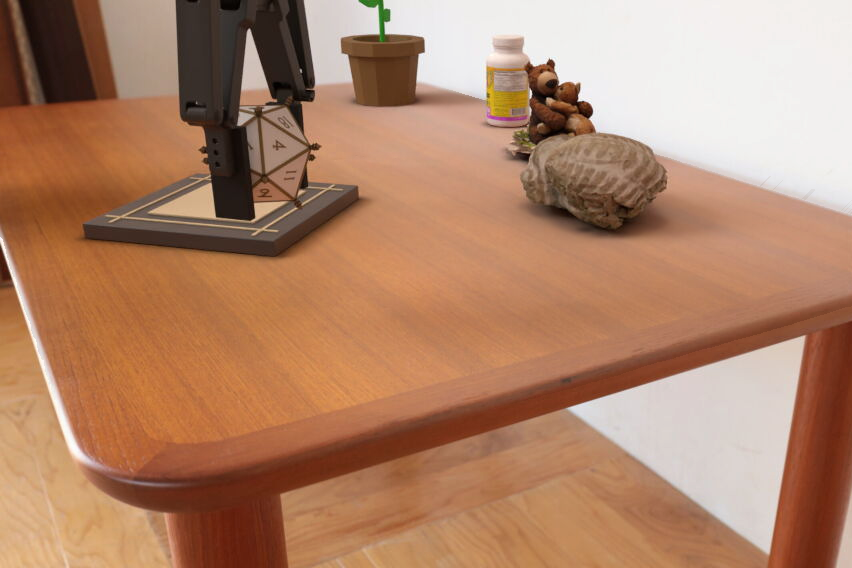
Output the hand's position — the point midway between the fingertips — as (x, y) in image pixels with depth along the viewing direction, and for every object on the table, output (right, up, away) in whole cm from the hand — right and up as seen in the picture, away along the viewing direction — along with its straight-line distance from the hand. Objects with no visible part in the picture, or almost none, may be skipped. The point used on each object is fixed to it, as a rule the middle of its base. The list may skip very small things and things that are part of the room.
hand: (264, 200), depth 68 cm
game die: (0, -1, 0) cm, 1 cm away
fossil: (+27, +3, +29) cm, 40 cm away
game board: (-10, +2, +25) cm, 28 cm away
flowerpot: (-3, +31, +87) cm, 93 cm away
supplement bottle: (+18, +23, +71) cm, 76 cm away
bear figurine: (+25, +14, +51) cm, 59 cm away
